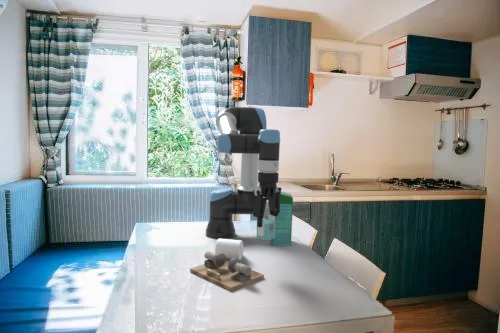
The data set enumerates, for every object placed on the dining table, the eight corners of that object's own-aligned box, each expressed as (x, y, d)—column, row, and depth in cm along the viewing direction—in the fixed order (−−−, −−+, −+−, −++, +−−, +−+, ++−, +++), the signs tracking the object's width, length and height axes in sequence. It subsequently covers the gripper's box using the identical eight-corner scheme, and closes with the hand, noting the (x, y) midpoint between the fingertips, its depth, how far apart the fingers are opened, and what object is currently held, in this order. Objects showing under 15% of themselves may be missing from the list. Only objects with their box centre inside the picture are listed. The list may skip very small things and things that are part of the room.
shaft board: (190, 271, 127) (190, 253, 127) (222, 261, 139) (223, 244, 138) (231, 291, 112) (231, 270, 111) (264, 278, 123) (264, 258, 123)
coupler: (255, 237, 129) (256, 221, 129) (264, 234, 133) (265, 219, 132) (267, 240, 125) (267, 224, 125) (275, 237, 129) (276, 222, 128)
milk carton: (291, 245, 162) (293, 192, 160) (271, 245, 162) (273, 192, 160) (289, 240, 171) (291, 190, 169) (270, 239, 171) (272, 189, 169)
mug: (238, 263, 138) (239, 243, 137) (214, 260, 140) (215, 241, 139) (245, 253, 149) (245, 235, 149) (222, 251, 151) (223, 233, 151)
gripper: (259, 174, 118) (256, 241, 120) (291, 171, 131) (288, 231, 133) (243, 172, 123) (241, 236, 125) (276, 169, 136) (273, 227, 138)
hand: (266, 233), depth 129 cm, fingers closed on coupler, 5 cm apart
